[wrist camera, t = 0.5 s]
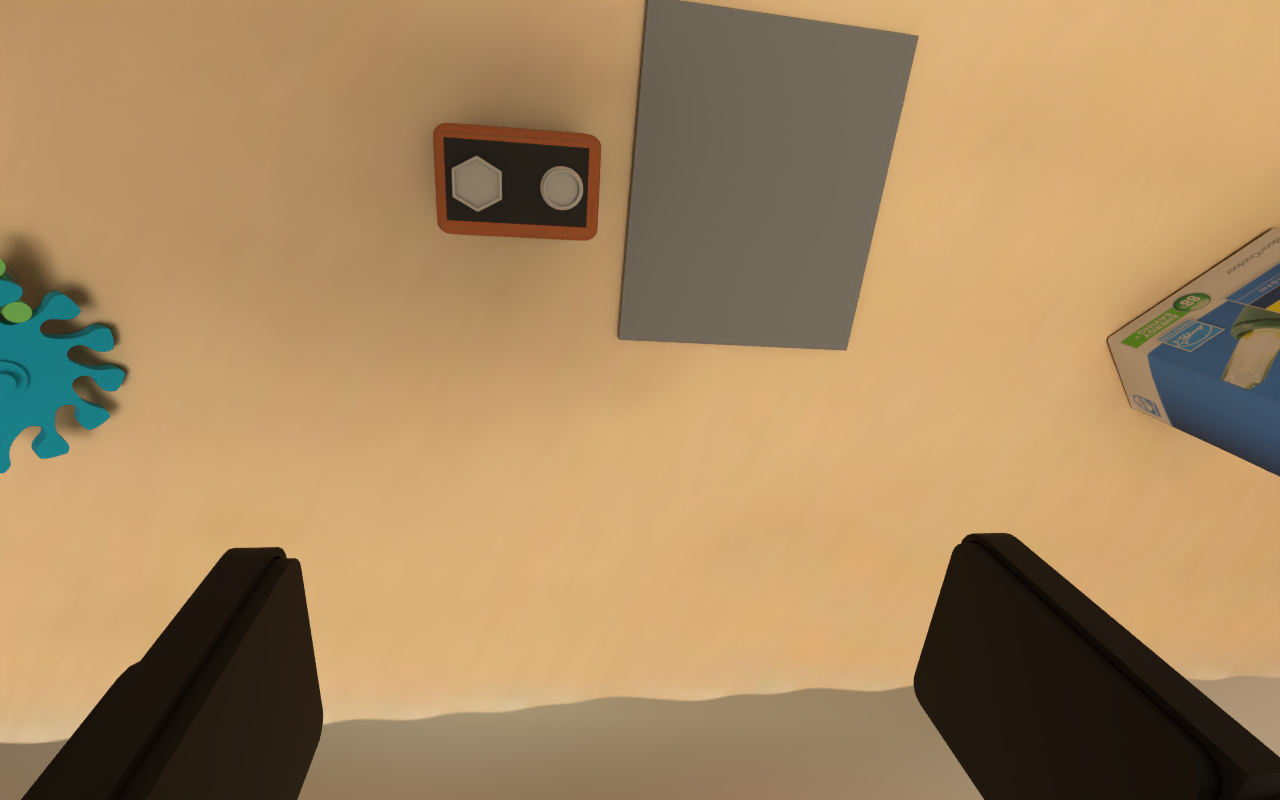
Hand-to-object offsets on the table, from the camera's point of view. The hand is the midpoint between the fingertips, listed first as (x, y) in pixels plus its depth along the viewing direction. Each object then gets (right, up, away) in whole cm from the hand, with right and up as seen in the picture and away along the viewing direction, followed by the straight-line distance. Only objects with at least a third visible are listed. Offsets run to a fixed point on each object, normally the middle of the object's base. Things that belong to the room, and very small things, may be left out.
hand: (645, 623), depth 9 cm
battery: (-7, +16, +25) cm, 31 cm away
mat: (+7, +15, +28) cm, 32 cm away
